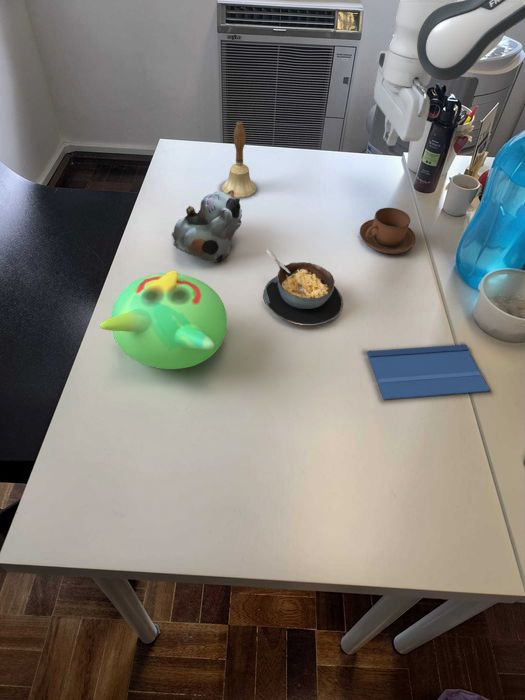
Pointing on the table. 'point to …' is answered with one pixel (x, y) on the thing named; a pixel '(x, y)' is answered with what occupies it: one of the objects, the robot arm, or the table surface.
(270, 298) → the soup bowl
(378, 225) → the cup and saucer
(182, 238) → the lucky cat figurine
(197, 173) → the table surface
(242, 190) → the hand bell
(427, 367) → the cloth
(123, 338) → the toy bird
